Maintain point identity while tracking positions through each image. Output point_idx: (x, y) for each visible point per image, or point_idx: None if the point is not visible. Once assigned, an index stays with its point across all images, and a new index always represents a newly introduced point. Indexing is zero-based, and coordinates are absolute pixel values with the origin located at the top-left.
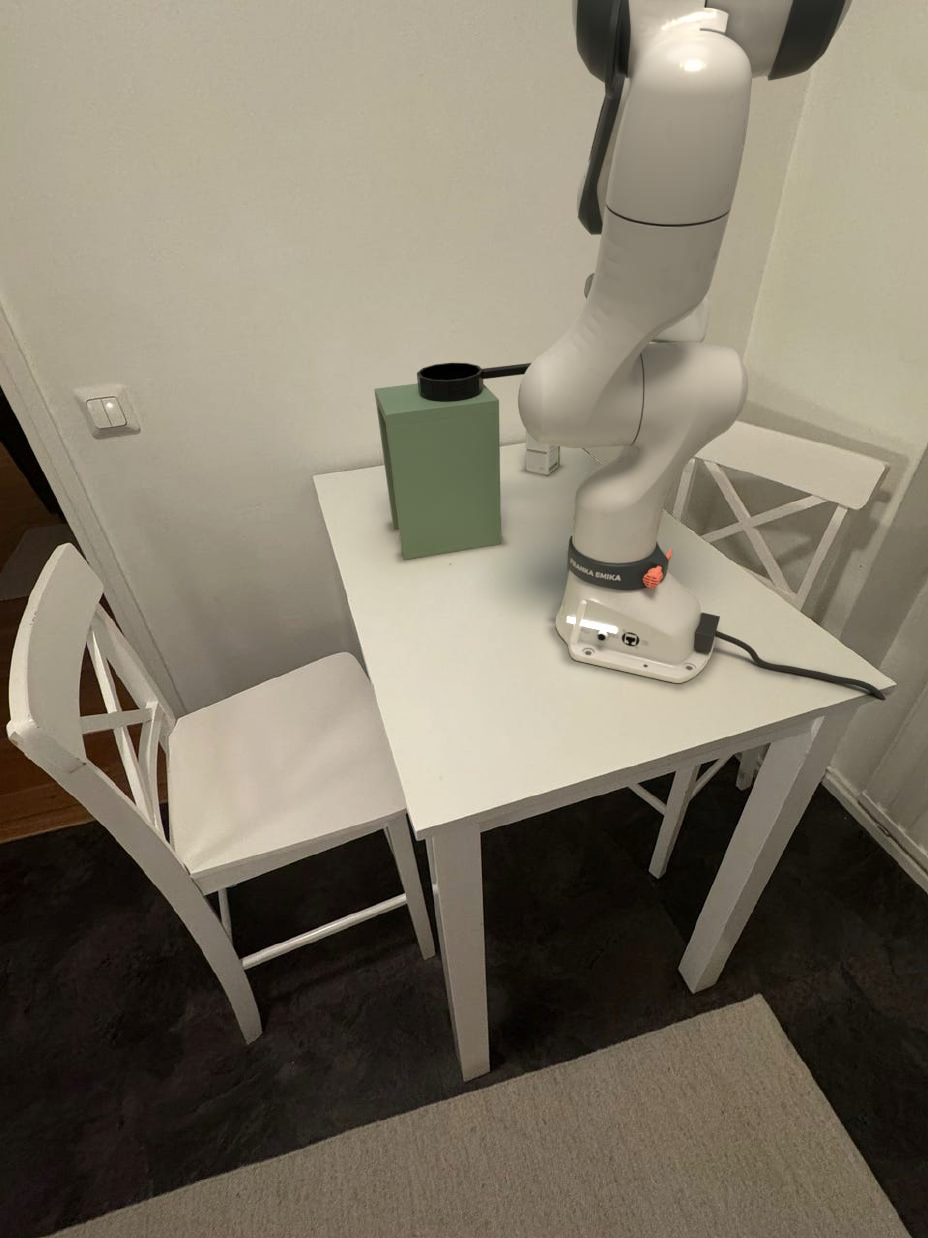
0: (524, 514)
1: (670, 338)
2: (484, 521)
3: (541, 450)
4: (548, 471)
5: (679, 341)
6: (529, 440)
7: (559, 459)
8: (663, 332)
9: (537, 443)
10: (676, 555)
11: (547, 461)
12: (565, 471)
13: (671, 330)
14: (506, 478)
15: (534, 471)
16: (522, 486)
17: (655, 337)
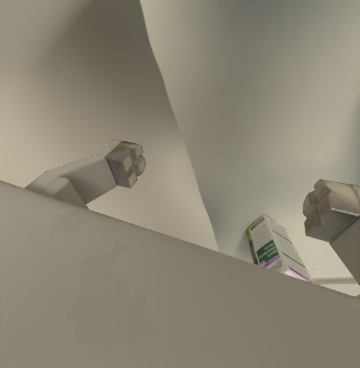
0: (325, 129)
1: (39, 198)
2: None
3: (278, 234)
4: (264, 216)
5: (14, 185)
6: (293, 249)
7: (247, 234)
8: (52, 231)
9: (284, 242)
10: (179, 6)
11: (268, 223)
12: (242, 219)
13: (2, 231)
14: None
15: (276, 223)
16: (300, 196)
17: (109, 217)
